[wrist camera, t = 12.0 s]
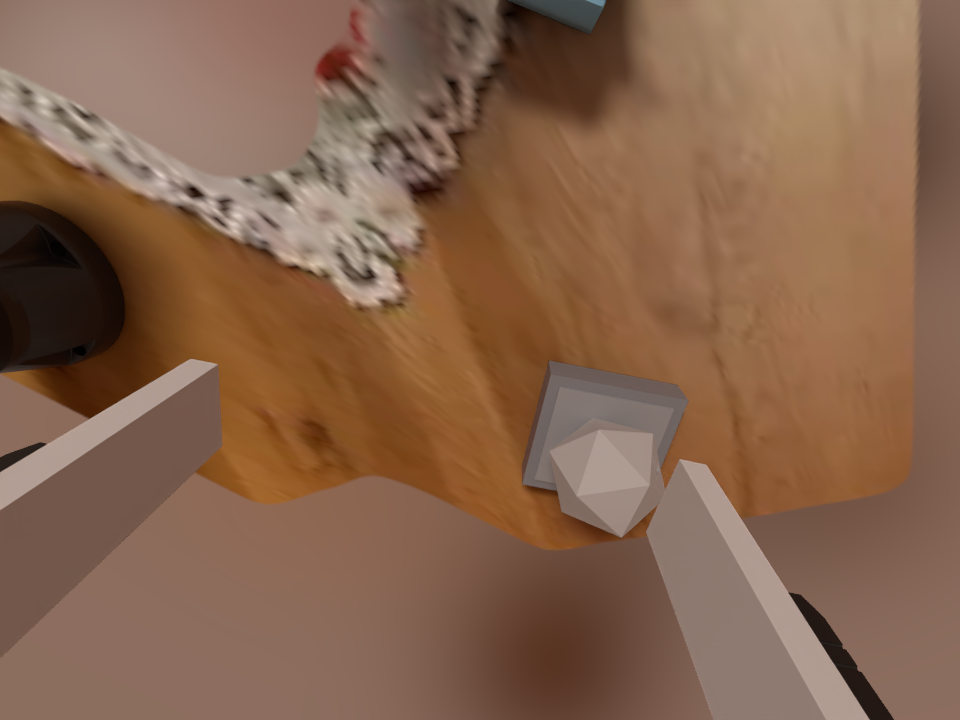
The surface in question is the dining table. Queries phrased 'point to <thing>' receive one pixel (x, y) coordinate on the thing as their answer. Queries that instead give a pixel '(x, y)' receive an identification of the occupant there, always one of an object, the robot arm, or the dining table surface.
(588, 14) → the blue spouted cube
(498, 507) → the dining table surface
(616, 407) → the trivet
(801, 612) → the robot arm
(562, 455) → the die
